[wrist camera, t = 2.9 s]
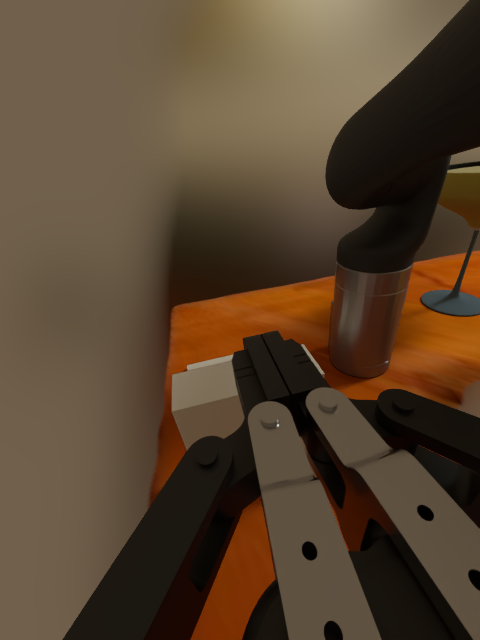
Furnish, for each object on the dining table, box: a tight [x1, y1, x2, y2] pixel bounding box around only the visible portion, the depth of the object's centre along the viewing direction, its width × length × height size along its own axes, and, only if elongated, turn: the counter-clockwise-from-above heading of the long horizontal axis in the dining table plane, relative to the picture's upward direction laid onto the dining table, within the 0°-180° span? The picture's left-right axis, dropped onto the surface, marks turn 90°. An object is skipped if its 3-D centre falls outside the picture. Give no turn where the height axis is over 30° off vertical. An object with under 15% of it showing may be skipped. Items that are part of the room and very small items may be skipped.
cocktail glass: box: [421, 161, 480, 316], centre depth 48 cm, size 18×18×25 cm
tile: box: [172, 344, 325, 497], centre depth 26 cm, size 4×12×16 cm, turn 102°
